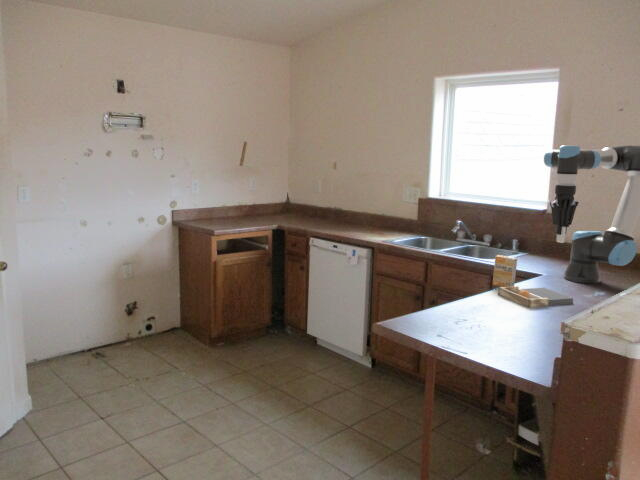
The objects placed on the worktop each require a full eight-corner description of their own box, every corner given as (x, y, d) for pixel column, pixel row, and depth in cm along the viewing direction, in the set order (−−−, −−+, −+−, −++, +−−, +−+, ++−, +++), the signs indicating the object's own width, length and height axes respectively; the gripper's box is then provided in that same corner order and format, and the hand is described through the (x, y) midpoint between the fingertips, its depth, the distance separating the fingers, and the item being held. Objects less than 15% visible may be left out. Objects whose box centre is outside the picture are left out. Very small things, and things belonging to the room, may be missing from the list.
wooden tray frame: (516, 293, 218) (517, 286, 217) (547, 306, 201) (548, 298, 200) (498, 294, 215) (498, 287, 214) (528, 307, 198) (529, 299, 198)
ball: (523, 299, 210) (526, 289, 210) (530, 302, 207) (533, 292, 206) (515, 297, 209) (518, 288, 208) (522, 301, 205) (524, 291, 205)
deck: (543, 292, 221) (544, 287, 221) (572, 303, 206) (573, 298, 206) (517, 293, 217) (518, 289, 216) (545, 305, 202) (546, 300, 202)
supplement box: (491, 285, 229) (494, 256, 227) (495, 283, 233) (498, 254, 231) (510, 289, 224) (514, 259, 222) (514, 286, 228) (517, 257, 226)
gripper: (571, 183, 217) (565, 239, 221) (546, 184, 212) (541, 241, 217) (586, 184, 210) (580, 243, 214) (560, 185, 205) (554, 245, 210)
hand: (560, 242), depth 215 cm, fingers closed
